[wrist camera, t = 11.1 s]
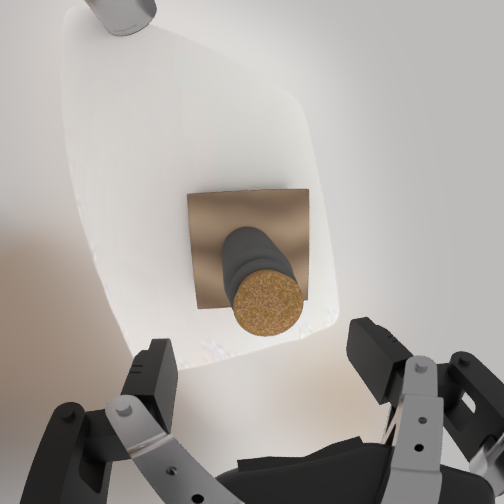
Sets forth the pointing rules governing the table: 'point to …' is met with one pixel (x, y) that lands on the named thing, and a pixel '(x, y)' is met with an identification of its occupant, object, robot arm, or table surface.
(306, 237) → the wooden bench
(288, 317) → the bottle
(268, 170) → the table surface
